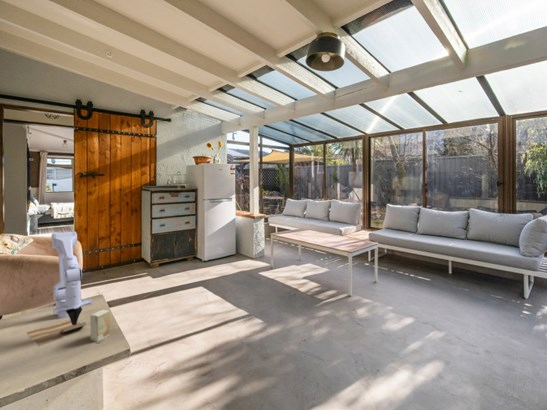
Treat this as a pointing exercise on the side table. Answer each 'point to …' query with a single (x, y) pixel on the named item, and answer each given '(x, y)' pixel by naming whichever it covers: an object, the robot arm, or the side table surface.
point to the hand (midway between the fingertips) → (74, 324)
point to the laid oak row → (50, 329)
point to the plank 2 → (73, 327)
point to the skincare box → (100, 325)
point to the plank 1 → (49, 338)
